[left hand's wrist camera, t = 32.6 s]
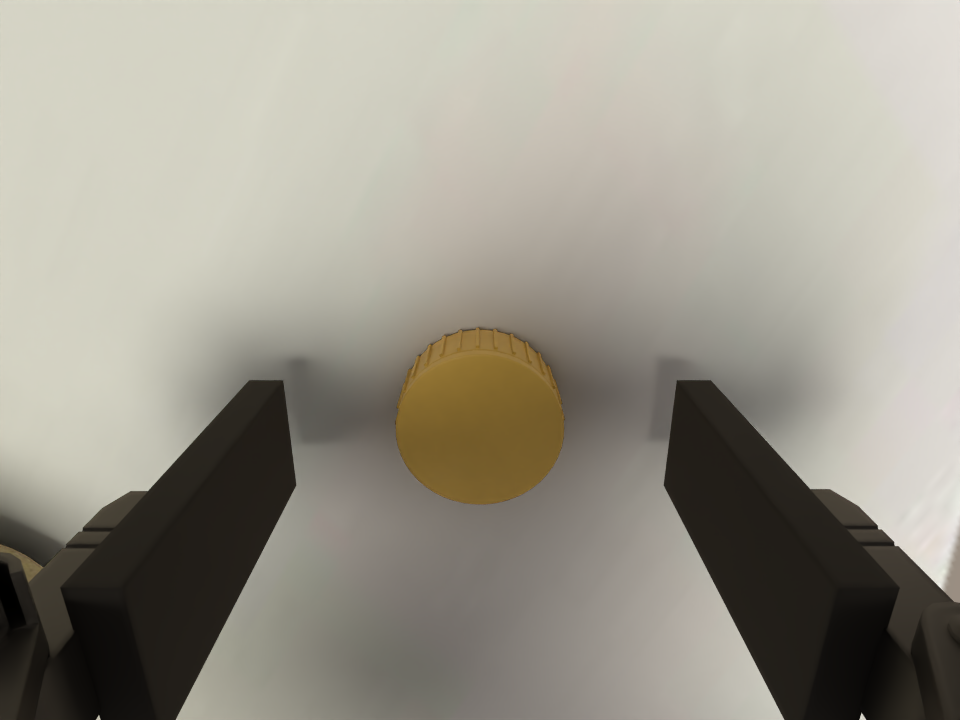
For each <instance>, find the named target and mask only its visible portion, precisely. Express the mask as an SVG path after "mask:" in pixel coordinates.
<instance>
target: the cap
mask: <svg viewBox="0 0 960 720" xmlns="http://www.w3.org/2000/svg"><path fill="white" fill-rule="evenodd" d="M561 404H562V401H561V398H560V394H559V391H558V387H557V384H556V381H555V380H554V379H553V376H552V373H551V369H550V367H549V365H547V366H546V364H545V363H544V361H543V360H542V357H541V354H540V353H539V352H538V353H536V352H535V351H534V350H533V349H532V348H531V347H529V344H528V342H525V343H524V342H522V341H520V340H519V339H517V338H515V337H514V335H513V334H511V333H510V335H508V334H505V333H501V332H497V329H493V331H491V330H479V328H476V330H469V331H463V332H462V330H459V331H458V333H455V334H452V335H450V336H447V337H446V336H445V335H444V336H442V339H441V340H439V341H438V342H436V343H435V344H433V345H431V344H430V345H428V348H427V350H426V351H425V352H424V353H423V354H422V355H421V356H419V355H418V356H417V357H416V361H415V364H414V366H413V368H412V369H409V370H408V373H407V376H406V379H405V383H404V384H403V387H402V391H401V394H400V397H399V401H398V404H397V408H398V409H399V410H398V414H397V418H396V421H395V425H396V439H397V444H398V448H399V451H400V454H401V456H402V458H403V460H404V462H405V464H406V466H407V467H408V469H409V470H410V471H411V473H412V474H413V475H414V476H415V477H416V478H417V479H418V481H420V482H421V483H422V484H423V485H424V486H426V487H427V488H428V489H430V490H431V491H433V492H435V493H437V494H439V495H441V496H443V497H445V498H448V499H450V500H453V501H457V502H462V503H468V504H492V503H498V502H503V501H506V500H509V499H512V498H515V497H517V496H519V495H521V494H523V493H525V492H527V491H528V490H530V489H532V488H533V487H534V486H535V485H537V484H538V483H539V482H540V481H541V480H542V479H543V478H544V477H545V476H546V475H547V474H548V473H549V471H550V470H551V468H552V467H553V466H554V464H555V462H556V460H557V458H558V456H559V453H560V450H561V448H562V443H563V438H564V420H565V418H564V414H563V411H562V407H561Z"/></svg>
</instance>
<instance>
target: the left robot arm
mask: <svg viewBox="0 0 960 720" xmlns="http://www.w3.org/2000/svg"><path fill="white" fill-rule="evenodd" d="M295 487H296V479H295V471H294V463H293V455H292V447H291V439H290V431H289V423H288V415H287V407H286V400H285V392H284V384H283V380H249V381H248V382H247V384H246V385H245V386H244V387H243V388H242V389H241V390H240V391H239V392H238V393H237V394H236V396H235V397H234V398H233V399H232V400H231V401H230V402H229V403H228V404H227V405H226V406H225V408H224V409H223V410H222V411H221V412H220V413H219V414H218V415H217V416H216V417H215V419H214V420H213V421H212V422H211V423H210V424H209V425H208V426H207V427H206V428H205V429H204V431H203V432H202V433H201V434H200V435H199V436H198V437H197V438H196V439H195V440H194V441H193V443H192V444H191V445H190V446H189V447H188V448H187V449H186V450H185V451H184V452H183V454H182V455H181V456H180V457H179V458H178V459H177V460H176V461H175V462H174V463H173V464H172V466H171V467H170V468H169V469H168V470H167V471H166V472H165V473H164V474H163V475H162V476H161V478H160V479H159V480H158V481H157V482H156V483H155V484H154V485H153V486H152V487H151V489H150V490H149V491H130V492H129V493H127V494H125V495H124V496H122V497H120V498H119V499H117V500H115V501H114V502H112V503H110V504H108V505H107V506H105V507H103V508H102V509H101V510H100V511H99V512H98V513H97V514H96V515H95V516H94V517H93V518H92V519H91V520H90V521H89V522H88V523H87V524H86V525H85V526H84V527H83V531H82V532H78V533H77V534H76V535H75V536H74V537H73V538H72V539H71V540H70V541H69V542H68V543H67V546H66V549H61V550H60V551H59V552H58V553H57V554H56V555H55V556H54V557H53V558H52V559H51V560H50V561H49V562H48V563H47V564H46V565H45V566H44V567H43V568H42V569H41V570H40V571H39V572H38V573H37V574H36V575H35V576H34V577H33V578H32V579H31V580H30V582H29V583H28V580H27V577H26V574H25V571H24V568H23V565H22V562H21V560H20V559H19V558H17V557H16V556H14V555H13V554H11V553H4V552H0V720H96V719H97V717H98V715H99V716H100V719H101V720H176V718H177V716H178V714H179V712H180V710H181V708H182V706H183V704H184V702H185V700H186V698H187V696H188V695H189V693H190V691H191V689H192V687H193V685H194V683H195V681H196V679H197V677H198V675H199V673H200V671H201V669H202V667H203V665H204V663H205V661H206V660H207V658H208V656H209V654H210V652H211V650H212V648H213V646H214V644H215V642H216V640H217V638H218V636H219V634H220V632H221V630H222V628H223V627H224V625H225V623H226V621H227V619H228V617H229V615H230V613H231V611H232V609H233V607H234V605H235V603H236V601H237V599H238V597H239V595H240V593H241V592H242V590H243V588H244V586H245V584H246V582H247V580H248V578H249V576H250V574H251V572H252V570H253V568H254V566H255V564H256V562H257V560H258V559H259V557H260V555H261V553H262V551H263V549H264V547H265V545H266V543H267V541H268V539H269V537H270V535H271V533H272V531H273V529H274V527H275V525H276V524H277V522H278V520H279V518H280V516H281V514H282V512H283V510H284V508H285V506H286V504H287V502H288V500H289V498H290V496H291V494H292V492H293V491H294V489H295ZM664 487H665V489H666V490H667V492H668V494H669V496H670V498H671V500H672V502H673V504H674V506H675V508H676V510H677V512H678V514H679V516H680V518H681V520H682V522H683V524H684V525H685V527H686V529H687V531H688V533H689V535H690V537H691V539H692V541H693V543H694V545H695V547H696V549H697V551H698V553H699V555H700V557H701V558H702V560H703V562H704V564H705V566H706V568H707V570H708V572H709V574H710V576H711V578H712V580H713V582H714V584H715V586H716V588H717V590H718V592H719V593H720V595H721V597H722V599H723V601H724V603H725V605H726V607H727V609H728V611H729V613H730V615H731V617H732V619H733V621H734V623H735V625H736V626H737V628H738V630H739V632H740V634H741V636H742V638H743V640H744V642H745V644H746V646H747V648H748V650H749V652H750V654H751V656H752V658H753V660H754V661H755V663H756V665H757V667H758V669H759V671H760V673H761V675H762V677H763V679H764V681H765V683H766V685H767V687H768V689H769V691H770V693H771V695H772V696H773V698H774V700H775V702H776V704H777V706H778V708H779V710H780V712H781V714H782V716H783V718H784V720H859V719H860V716H861V712H862V714H863V715H864V717H865V718H866V720H960V603H956V602H954V601H953V600H952V599H950V597H949V596H948V595H947V594H946V593H945V592H944V591H943V590H942V589H941V588H940V587H939V586H938V585H937V584H936V583H935V582H934V581H933V580H932V579H931V578H930V577H929V576H928V575H927V574H926V573H925V572H924V571H923V570H922V569H921V568H920V567H919V566H918V565H917V564H916V563H915V562H914V561H913V560H912V559H911V558H910V557H909V556H908V555H907V554H906V553H905V552H904V551H903V550H902V549H901V548H900V547H899V546H895V545H894V541H893V540H892V539H891V538H890V537H889V536H888V535H887V534H886V533H885V532H884V531H883V530H878V525H877V524H876V523H875V522H874V521H873V520H872V519H871V518H870V517H869V516H868V515H867V514H866V513H865V512H864V511H863V510H862V509H861V508H860V507H859V506H857V505H855V504H854V503H852V502H850V501H849V500H847V499H845V498H844V497H842V496H840V495H839V494H837V493H835V492H834V491H832V490H830V489H809V487H808V486H807V485H806V484H805V483H804V482H803V481H802V480H801V479H800V478H799V476H798V475H797V474H796V473H795V472H794V471H793V470H792V469H791V468H790V467H789V466H788V464H787V463H786V462H785V461H784V460H783V459H782V458H781V457H780V456H779V455H778V454H777V452H776V451H775V450H774V449H773V448H772V447H771V446H770V445H769V444H768V443H767V441H766V440H765V439H764V438H763V437H762V436H761V435H760V434H759V433H758V432H757V431H756V429H755V428H754V427H753V426H752V425H751V424H750V423H749V422H748V421H747V420H746V419H745V417H744V416H743V415H742V414H741V413H740V412H739V411H738V410H737V409H736V408H735V406H734V405H733V404H732V403H731V402H730V401H729V400H728V399H727V398H726V397H725V396H724V394H723V393H722V392H721V391H720V390H719V389H718V388H717V387H716V386H715V385H714V384H713V382H712V381H711V380H677V384H676V392H675V400H674V408H673V416H672V424H671V431H670V439H669V447H668V455H667V463H666V471H665V479H664Z"/></svg>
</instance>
